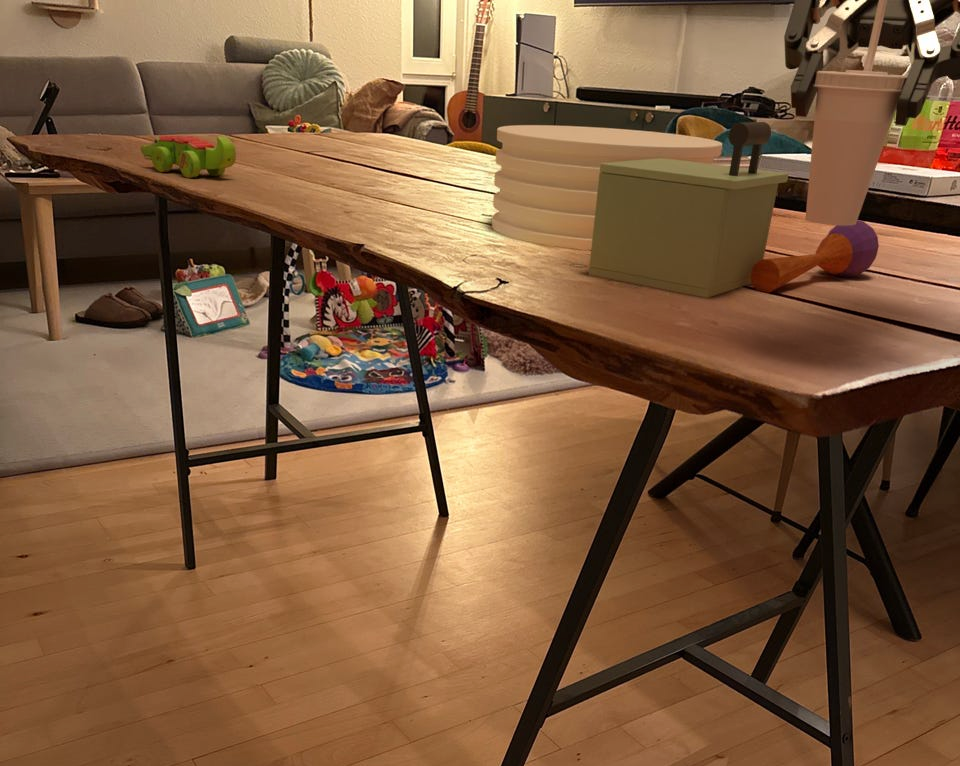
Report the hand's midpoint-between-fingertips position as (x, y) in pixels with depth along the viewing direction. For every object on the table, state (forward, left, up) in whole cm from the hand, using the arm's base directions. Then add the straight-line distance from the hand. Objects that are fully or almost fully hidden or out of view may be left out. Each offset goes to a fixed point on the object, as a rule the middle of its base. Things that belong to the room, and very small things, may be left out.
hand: (850, 111), depth 68 cm
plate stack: (+43, -41, -18) cm, 62 cm away
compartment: (+22, -22, -18) cm, 36 cm away
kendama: (+11, -33, -18) cm, 39 cm away
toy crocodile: (+115, -32, -18) cm, 121 cm away
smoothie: (0, -2, -8) cm, 8 cm away
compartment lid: (+22, -22, -8) cm, 32 cm away
